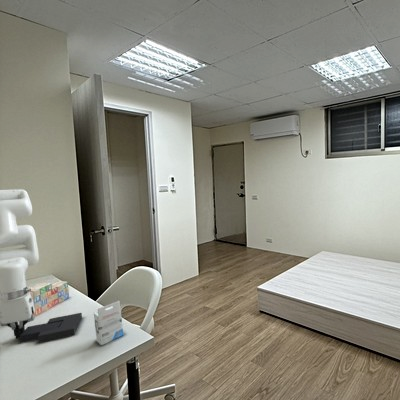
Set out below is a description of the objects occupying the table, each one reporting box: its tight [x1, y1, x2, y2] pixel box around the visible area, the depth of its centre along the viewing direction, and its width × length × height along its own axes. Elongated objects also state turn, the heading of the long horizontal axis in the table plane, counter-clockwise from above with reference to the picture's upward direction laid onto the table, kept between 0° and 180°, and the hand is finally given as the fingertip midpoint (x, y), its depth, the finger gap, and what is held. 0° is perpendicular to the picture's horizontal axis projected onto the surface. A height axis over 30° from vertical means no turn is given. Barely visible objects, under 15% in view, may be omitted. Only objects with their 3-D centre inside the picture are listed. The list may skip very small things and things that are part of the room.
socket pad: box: [37, 312, 83, 344], centre depth 113 cm, size 12×14×3 cm
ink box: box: [93, 300, 124, 346], centre depth 105 cm, size 8×5×15 cm, turn 140°
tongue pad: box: [19, 321, 62, 343], centre depth 110 cm, size 12×7×3 cm, turn 109°
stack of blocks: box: [27, 280, 70, 317], centre depth 133 cm, size 21×6×12 cm, turn 168°
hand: (20, 336), depth 108 cm, fingers closed
